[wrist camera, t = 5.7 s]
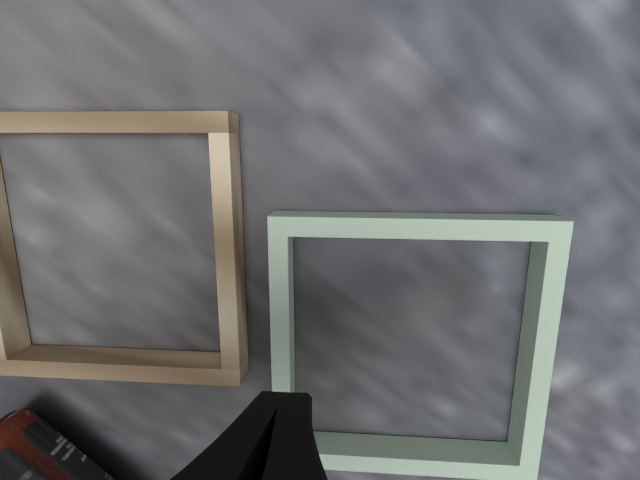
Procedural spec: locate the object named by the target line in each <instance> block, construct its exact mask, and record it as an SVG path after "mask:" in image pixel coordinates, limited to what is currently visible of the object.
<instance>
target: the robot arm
mask: <svg viewBox="0 0 640 480" xmlns="http://www.w3.org/2000/svg"><path fill="white" fill-rule="evenodd" d="M170 480H328V479H327V477H326V474H325V471H324V468H323V465H322V462H321V459H320V456H319V452H318V449H317V445H316V441H315V437H314V433H313V428H312V397H311V396H310V395H309V394H308V393H295V392H273V391H262V392H261V393H260V394H259V395H258V396H257V397H256V398H255V399H254V400H253V401H252V402H251V403H250V405H249V406H248V407H247V408H246V409H245V410H244V411H243V412H242V413H241V414H240V415H239V416H238V418H237V419H236V420H235V421H234V422H233V423H232V424H231V425H230V426H229V427H228V428H227V429H226V430H225V431H224V432H223V433H222V434H221V435H220V436H219V437H218V438H217V439H216V440H215V441H214V442H213V443H212V444H211V445H210V446H208V447H207V448H206V449H205V450H204V451H203V452H202V453H201V454H200V455H199V456H197V457H196V458H195V459H194V460H193V461H192V462H191V463H190V464H189V465H187V466H186V467H185V468H184V469H183V470H181V471H180V472H179V473H178V474H176V475H175V476H174V477H173V478H171V479H170Z"/></svg>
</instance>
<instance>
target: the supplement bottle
mask: <svg viewBox="0 0 640 480" xmlns="http://www.w3.org/2000/svg"><path fill="white" fill-rule="evenodd" d="M0 480H115V479H113V478H112V477H111V476H110V475H109V474H108V473H106V472H105V471H104V470H103V469H102V468H101V467H99V466H98V465H97V464H96V463H95V462H93V461H92V460H91V459H90V458H89V457H87V456H86V455H85V454H84V453H83V452H81V451H80V450H79V449H78V448H77V447H76V446H74V445H73V444H72V443H71V442H69V441H68V440H67V439H66V438H65V437H63V436H62V435H61V434H60V433H59V432H57V431H56V430H55V429H54V428H53V427H51V426H50V425H49V424H48V423H47V422H45V421H44V420H43V419H42V418H41V417H38V416H37V415H36V414H35V413H34V412H32V411H31V410H29V409H26V408H24V409H19V410H15V411H13V412H11V413H9V414H7V415H6V416H4V417H3V418H2V419H0Z"/></svg>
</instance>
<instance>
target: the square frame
mask: <svg viewBox="0 0 640 480" xmlns="http://www.w3.org/2000/svg"><path fill="white" fill-rule="evenodd" d="M267 223H268V261H269V298H270V336H271V374H272V391H273V392H295V345H294V265H293V237H331V238H382V239H432V240H483V241H531V249H530V257H529V265H528V274H527V282H526V290H525V298H524V307H523V315H522V323H521V332H520V340H519V348H518V357H517V365H516V373H515V382H514V390H513V398H512V406H511V415H510V423H509V431H508V440H507V442H498V441H480V440H462V439H444V438H426V437H408V436H390V435H372V434H354V433H336V432H319V431H313V433H314V437H315V441H316V445H317V449H318V452H319V456H320V459H321V462H322V465H323V468H324V470H340V471H356V472H372V473H388V474H404V475H420V476H436V477H451V478H467V479H483V480H537V476H538V469H539V462H540V455H541V448H542V441H543V434H544V427H545V420H546V413H547V406H548V398H549V391H550V384H551V377H552V370H553V363H554V356H555V349H556V342H557V335H558V328H559V321H560V314H561V307H562V300H563V293H564V286H565V279H566V272H567V265H568V258H569V251H570V244H571V237H572V230H573V223H574V221H571V220H568V219H566V218H563V217H560V216H557V215H539V214H472V213H405V212H338V211H273V212H272V213H271V214H270V215H268V216H267Z"/></svg>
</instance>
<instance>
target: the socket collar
mask: <svg viewBox="0 0 640 480" xmlns="http://www.w3.org/2000/svg"><path fill="white" fill-rule="evenodd" d="M0 134H208V137H209V155H210V173H211V191H212V208H213V226H214V244H215V261H216V279H217V297H218V314H219V332H220V350H221V352H201V351H177V350H154V349H130V348H106V347H82V346H58V345H34V344H31V340H30V334H29V328H28V323H27V317H26V311H25V305H24V299H23V293H22V287H21V281H20V275H19V269H18V263H17V257H16V251H15V245H14V239H13V233H12V228H11V222H10V216H9V210H8V204H7V198H6V192H5V186H4V180H3V174H2V168H1V162H0V375H5V376H26V377H47V378H68V379H88V380H109V381H130V382H151V383H171V384H192V385H213V386H234V387H241V384H242V382H243V380H244V378H245V376H246V374H247V372H248V369H249V362H248V337H247V312H246V287H245V262H244V238H243V213H242V188H241V163H240V138H239V114H238V113H234V112H230V111H61V112H0Z"/></svg>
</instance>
